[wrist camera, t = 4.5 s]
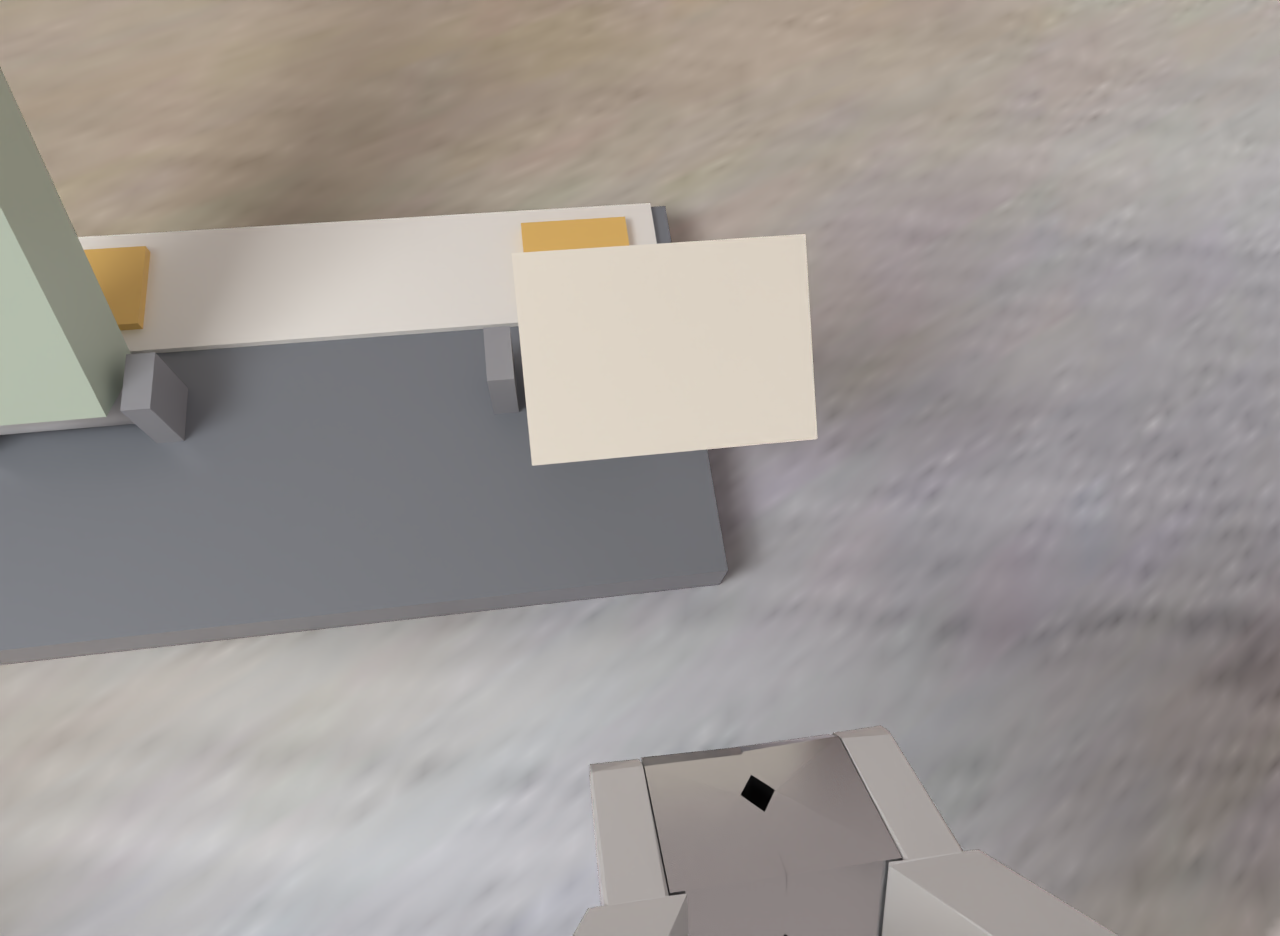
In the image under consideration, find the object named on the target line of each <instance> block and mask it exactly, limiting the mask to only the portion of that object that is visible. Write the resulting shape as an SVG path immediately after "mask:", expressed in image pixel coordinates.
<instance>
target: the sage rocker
mask: <svg viewBox="0 0 1280 936" xmlns="http://www.w3.org/2000/svg"><path fill="white" fill-rule="evenodd" d="M126 354H131V353H130V351H129V349H128V347H127V344H126V342H125V340H124V338H123V336H122V333H121V331H120V329H119V327H118V325H117V322H116V320H115V318H114V316H113V314H112V311H111V309H110V307H109V305H108V303H107V300H106V298H105V296H104V294H103V292H102V289H101V287H100V285H99V283H98V281H97V278H96V276H95V274H94V272H93V270H92V267H91V265H90V263H89V261H88V259H87V256H86V254H85V252H84V250H83V248H82V245H81V243H80V241H79V239H78V237H77V234H76V232H75V230H74V228H73V226H72V223H71V221H70V219H69V217H68V215H67V212H66V210H65V208H64V206H63V204H62V201H61V199H60V197H59V195H58V193H57V190H56V188H55V186H54V184H53V182H52V179H51V177H50V175H49V173H48V171H47V169H46V166H45V164H44V162H43V160H42V158H41V155H40V153H39V151H38V149H37V147H36V144H35V142H34V140H33V138H32V136H31V133H30V131H29V129H28V127H27V125H26V122H25V120H24V118H23V116H22V114H21V111H20V109H19V107H18V105H17V103H16V100H15V98H14V96H13V94H12V92H11V89H10V87H9V85H8V83H7V81H6V78H5V76H4V74H3V72H2V70H1V67H0V435H6V434H18V433H30V432H42V431H54V430H66V429H78V428H90V427H102V426H114V425H126V424H135V423H133V422H132V421H131V420H130V419H129V418H128V417H127V416H125V415H124V414H123V413H122V412H121V411H120V408H121V398H122V389H123V379H124V370H125V360H126Z"/></svg>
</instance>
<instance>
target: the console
mask: <svg viewBox="0 0 1280 936" xmlns="http://www.w3.org/2000/svg"><path fill="white" fill-rule="evenodd" d="M78 239H79V241H80V243H81V245H82V248H83V250H84V252H85V254H86V256H87V259H88V261H89V263H90V265H91V267H92V270H93V272H94V274H95V276H96V278H97V281H98V283H99V285H100V287H101V289H102V292H103V294H104V296H105V298H106V300H107V303H108V305H109V307H110V309H111V311H112V314H113V316H114V318H115V320H116V322H117V325H118V327H119V329H120V331H121V333H122V336H123V338H124V340H125V342H126V344H127V347H128V349H129V351H130V353H131V354H126V360H125V370H124V379H123V389H122V398H121V408H120V411H121V412H122V413H123V414H124V415H125V416H127V417H128V418H129V419H130V420H131V421H132V422H133V423H135V424H126V425H114V426H102V427H90V428H78V429H66V430H54V431H42V432H30V433H18V434H6V435H0V665H3V664H12V663H21V662H30V661H39V660H48V659H57V658H66V657H75V656H84V655H93V654H101V653H110V652H119V651H128V650H137V649H146V648H155V647H164V646H173V645H182V644H191V643H200V642H209V641H218V640H227V639H236V638H245V637H254V636H262V635H271V634H280V633H289V632H298V631H307V630H316V629H325V628H334V627H343V626H352V625H361V624H370V623H379V622H388V621H397V620H406V619H414V618H423V617H432V616H441V615H450V614H459V613H468V612H477V611H486V610H495V609H504V608H513V607H522V606H531V605H540V604H549V603H558V602H567V601H575V600H584V599H593V598H602V597H611V596H620V595H629V594H638V593H647V592H656V591H665V590H674V589H683V588H692V587H701V586H710V585H719V584H720V582H721V581H722V579H723V578H724V576H725V574H726V573H727V571H728V568H727V562H726V556H725V550H724V544H723V539H722V533H721V527H720V521H719V515H718V510H717V504H716V498H715V492H714V487H713V481H712V475H711V469H710V463H709V458H708V452H707V449H706V450H695V451H685V452H674V453H663V454H652V455H642V456H631V457H620V458H610V459H599V460H588V461H577V462H567V463H556V464H545V465H535V466H532V461H531V450H530V440H529V430H528V419H527V409H526V399H525V388H524V378H523V367H522V357H521V347H520V336H519V326H518V316H517V305H516V295H515V285H514V274H513V264H512V254H511V253H522V252H537V251H552V250H568V249H583V248H598V247H614V246H629V245H644V244H660V243H671V237H670V231H669V226H668V220H667V214H666V208H665V206H659V207H651V205H650V203H640V204H624V205H607V206H590V207H573V208H557V209H540V210H523V211H506V212H489V213H473V214H456V215H439V216H422V217H406V218H389V219H372V220H355V221H339V222H322V223H305V224H288V225H272V226H255V227H238V228H221V229H205V230H188V231H171V232H154V233H137V234H121V235H104V236H87V237H78Z"/></svg>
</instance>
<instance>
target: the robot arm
mask: <svg viewBox="0 0 1280 936" xmlns="http://www.w3.org/2000/svg"><path fill="white" fill-rule="evenodd" d="M589 777H590V788H591V800H592V811H593V822H594V834H595V845H596V857H597V868H598V880H599V891H600V903H601V906H599V907H593V908H588V909H587V911H586V913H585V915H584V916H583V918H582V920H581V922H580V923H579V925H578V927H577V929H576V931H575V932H574V934H573V936H1119V935H1117V934H1116V933H1114V932H1112V931H1111V930H1109V929H1107V928H1106V927H1104V926H1103V925H1101V924H1099V923H1098V922H1096V921H1094V920H1093V919H1091V918H1090V917H1088V916H1086V915H1085V914H1083V913H1081V912H1080V911H1078V910H1077V909H1075V908H1073V907H1072V906H1070V905H1068V904H1067V903H1065V902H1064V901H1062V900H1060V899H1059V898H1057V897H1055V896H1054V895H1052V894H1051V893H1049V892H1047V891H1046V890H1044V889H1042V888H1041V887H1039V886H1037V885H1036V884H1034V883H1033V882H1031V881H1029V880H1028V879H1026V878H1024V877H1023V876H1021V875H1020V874H1018V873H1016V872H1015V871H1013V870H1011V869H1010V868H1008V867H1007V866H1005V865H1003V864H1002V863H1000V862H998V861H997V860H995V859H994V858H992V857H990V856H989V855H987V854H985V853H984V852H982V851H981V850H970V851H963V850H962V848H961V847H960V845H959V843H958V842H957V840H956V839H955V837H954V835H953V834H952V832H951V830H950V829H949V827H948V826H947V824H946V822H945V821H944V819H943V817H942V816H941V814H940V813H939V811H938V809H937V808H936V806H935V804H934V803H933V801H932V800H931V798H930V796H929V795H928V793H927V791H926V790H925V788H924V787H923V785H922V783H921V782H920V780H919V778H918V777H917V775H916V774H915V772H914V770H913V769H912V767H911V765H910V764H909V762H908V761H907V759H906V757H905V756H904V754H903V752H902V751H901V749H900V748H899V746H898V744H897V743H896V741H895V740H894V738H893V736H892V735H891V733H890V731H888V730H887V729H885V728H884V727H882V726H874V727H868V728H861V729H855V730H848V731H841V732H835V733H833V734H832V735H831V734H825V735H818V736H811V737H804V738H797V739H790V740H783V741H776V742H769V743H762V744H755V745H748V746H740V747H734V748H725V749H716V750H707V751H698V752H688V753H679V754H670V755H661V756H651V757H642V758H641V762H640V760H639V759H634V760H625V761H615V762H606V763H596V764H590V775H589Z"/></svg>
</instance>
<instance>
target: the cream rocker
mask: <svg viewBox="0 0 1280 936" xmlns="http://www.w3.org/2000/svg"><path fill="white" fill-rule="evenodd" d="M511 254H512V264H513V274H514V285H515V295H516V305H517V316H518V326H519V336H520V347H521V357H522V367H523V378H524V388H525V399H526V409H527V419H528V430H529V440H530V450H531V461H532V466H535V465H545V464H556V463H567V462H577V461H588V460H599V459H610V458H620V457H631V456H642V455H652V454H663V453H674V452H685V451H695V450H706V449H717V448H727V447H738V446H749V445H759V444H770V443H781V442H792V441H802V440H813V439H817V423H816V406H815V389H814V371H813V354H812V337H811V320H810V302H809V285H808V268H807V251H806V234H798V235H783V236H767V237H752V238H737V239H721V240H706V241H691V242H675V243H660V244H644V245H629V246H614V247H598V248H583V249H568V250H552V251H537V252H522V253H511Z"/></svg>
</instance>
